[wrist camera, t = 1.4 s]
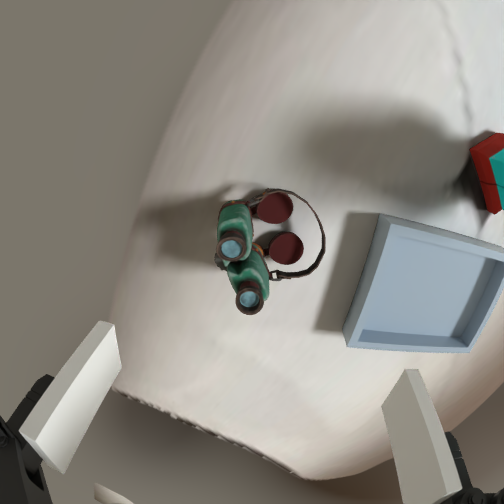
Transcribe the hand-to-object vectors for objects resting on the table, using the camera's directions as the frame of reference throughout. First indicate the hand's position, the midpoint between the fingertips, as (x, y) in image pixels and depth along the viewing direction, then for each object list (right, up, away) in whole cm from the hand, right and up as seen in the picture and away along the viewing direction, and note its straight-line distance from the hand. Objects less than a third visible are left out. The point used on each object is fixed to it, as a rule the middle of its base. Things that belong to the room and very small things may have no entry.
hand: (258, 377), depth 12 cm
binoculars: (+2, +8, +19) cm, 21 cm away
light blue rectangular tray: (+22, +1, +20) cm, 29 cm away
